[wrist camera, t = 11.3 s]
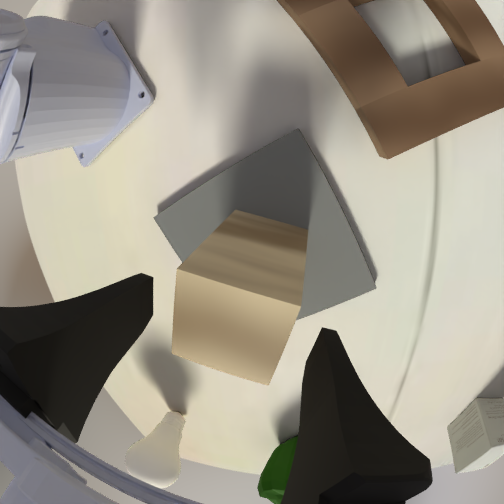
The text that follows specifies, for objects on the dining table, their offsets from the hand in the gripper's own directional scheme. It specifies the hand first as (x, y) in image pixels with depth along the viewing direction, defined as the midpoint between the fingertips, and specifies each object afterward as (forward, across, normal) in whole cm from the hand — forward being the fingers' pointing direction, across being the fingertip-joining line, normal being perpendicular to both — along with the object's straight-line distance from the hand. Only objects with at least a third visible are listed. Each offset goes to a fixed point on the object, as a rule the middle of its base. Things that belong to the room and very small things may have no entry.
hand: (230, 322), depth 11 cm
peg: (+7, 0, 0) cm, 7 cm away
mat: (+8, 0, 0) cm, 8 cm away
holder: (+8, -6, -16) cm, 19 cm away
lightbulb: (+8, +5, +24) cm, 26 cm away
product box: (+8, -30, +13) cm, 34 cm away
